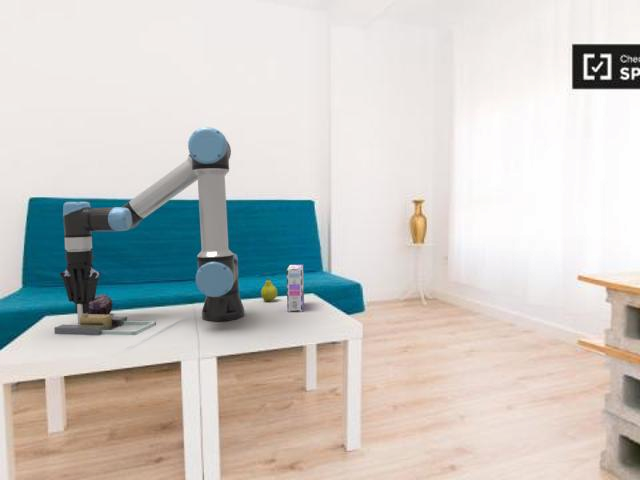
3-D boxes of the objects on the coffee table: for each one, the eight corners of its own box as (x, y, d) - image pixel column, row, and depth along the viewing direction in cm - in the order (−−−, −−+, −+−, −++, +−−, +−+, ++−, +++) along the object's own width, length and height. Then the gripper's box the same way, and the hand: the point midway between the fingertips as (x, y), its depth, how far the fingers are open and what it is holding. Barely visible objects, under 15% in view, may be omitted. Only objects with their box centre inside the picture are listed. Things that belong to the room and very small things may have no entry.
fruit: (279, 299, 179) (278, 271, 179) (275, 302, 173) (275, 274, 172) (263, 299, 180) (262, 272, 179) (259, 302, 173) (258, 274, 172)
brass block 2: (111, 326, 134) (111, 314, 134) (103, 330, 130) (102, 317, 130) (100, 326, 135) (100, 314, 135) (92, 329, 131) (91, 317, 131)
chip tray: (156, 329, 136) (155, 321, 136) (135, 339, 125) (134, 331, 124) (125, 328, 138) (124, 320, 138) (101, 338, 126) (101, 330, 126)
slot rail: (127, 327, 139) (127, 317, 139) (99, 340, 125) (98, 328, 125) (87, 326, 141) (86, 316, 141) (55, 338, 127) (54, 327, 127)
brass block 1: (100, 326, 135) (100, 314, 135) (92, 330, 131) (91, 317, 131) (89, 326, 135) (89, 314, 135) (80, 329, 131) (80, 317, 131)
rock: (79, 328, 143) (111, 325, 146) (76, 305, 141) (108, 302, 144) (90, 315, 154) (119, 312, 157) (86, 293, 153) (116, 291, 155)
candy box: (302, 312, 156) (301, 268, 155) (287, 312, 156) (286, 268, 155) (304, 303, 169) (303, 264, 168) (290, 304, 170) (289, 264, 168)
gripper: (105, 249, 135) (109, 320, 136) (69, 249, 137) (73, 319, 138) (89, 251, 127) (93, 326, 129) (51, 251, 129) (56, 325, 131)
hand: (83, 323), depth 134 cm, fingers closed
